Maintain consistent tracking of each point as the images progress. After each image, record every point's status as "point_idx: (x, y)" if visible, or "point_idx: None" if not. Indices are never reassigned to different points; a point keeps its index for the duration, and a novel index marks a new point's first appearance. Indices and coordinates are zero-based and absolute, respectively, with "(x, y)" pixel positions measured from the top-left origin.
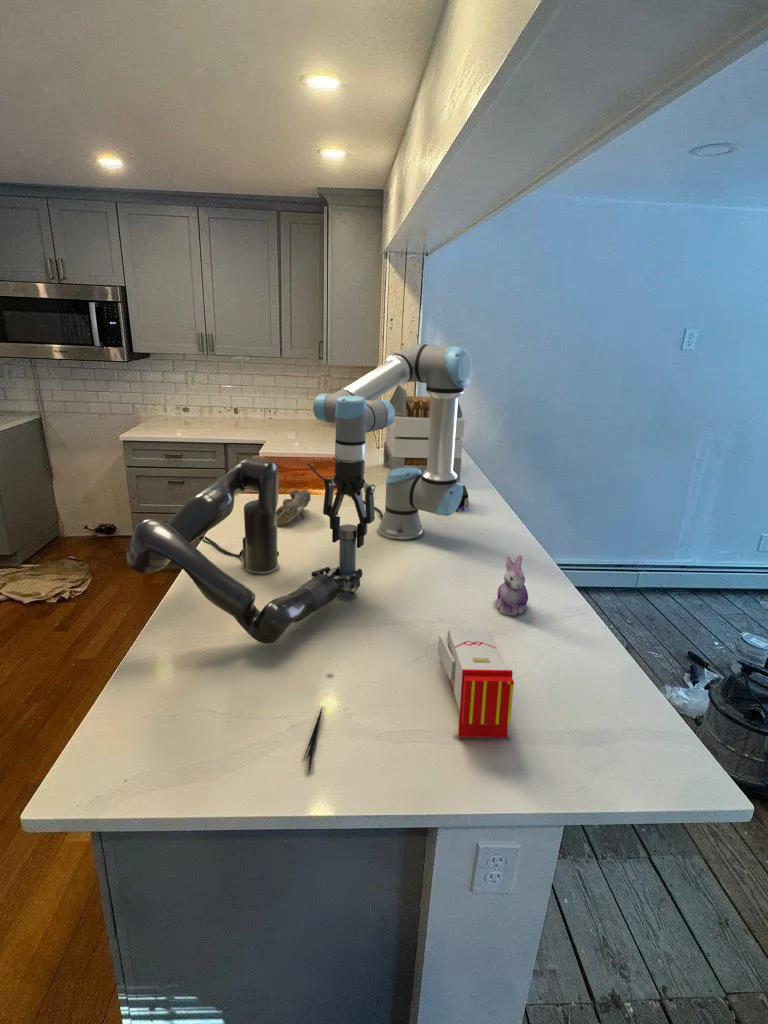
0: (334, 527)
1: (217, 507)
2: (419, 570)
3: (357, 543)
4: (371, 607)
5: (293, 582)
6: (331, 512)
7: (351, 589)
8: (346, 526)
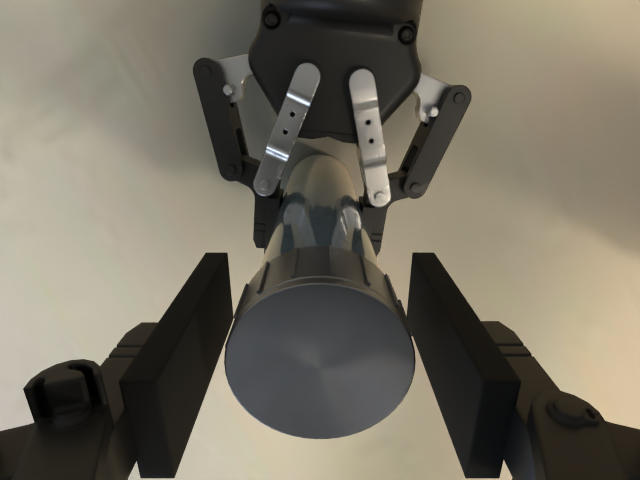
0: (455, 320)
1: None
2: (196, 440)
3: (212, 267)
4: (196, 150)
5: (553, 181)
6: (599, 466)
7: (209, 58)
8: (350, 384)
